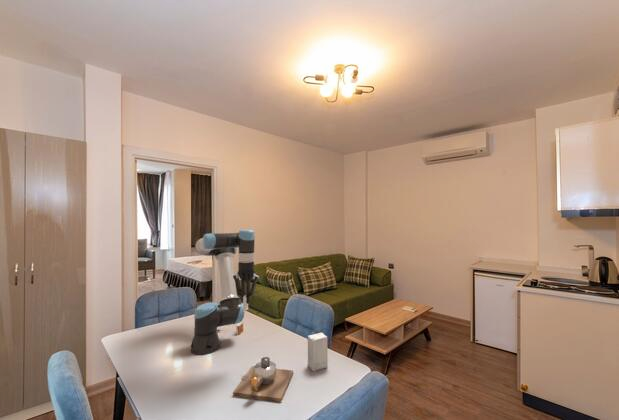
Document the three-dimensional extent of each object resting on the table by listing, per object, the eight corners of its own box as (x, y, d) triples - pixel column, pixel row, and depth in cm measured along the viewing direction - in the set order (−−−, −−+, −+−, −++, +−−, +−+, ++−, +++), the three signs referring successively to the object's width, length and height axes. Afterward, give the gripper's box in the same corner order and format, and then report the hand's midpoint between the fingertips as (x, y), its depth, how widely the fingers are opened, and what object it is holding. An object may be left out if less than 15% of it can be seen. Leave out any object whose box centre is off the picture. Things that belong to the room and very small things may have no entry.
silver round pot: (260, 368, 124) (260, 352, 124) (279, 371, 121) (279, 355, 121) (242, 389, 108) (242, 371, 109) (263, 393, 106) (263, 375, 106)
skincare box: (322, 362, 137) (322, 331, 137) (328, 368, 131) (328, 336, 132) (306, 365, 133) (307, 334, 133) (312, 372, 128) (312, 339, 128)
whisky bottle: (245, 329, 177) (203, 328, 182) (245, 319, 178) (202, 319, 183) (239, 335, 167) (194, 334, 172) (238, 325, 168) (193, 325, 173)
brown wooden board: (231, 396, 110) (232, 388, 110) (251, 369, 130) (251, 362, 130) (280, 402, 106) (281, 394, 106) (293, 373, 126) (293, 366, 126)
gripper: (261, 260, 138) (260, 308, 137) (237, 259, 140) (236, 306, 139) (256, 263, 130) (255, 313, 129) (230, 262, 132) (229, 311, 132)
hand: (245, 309), depth 134 cm, fingers closed
